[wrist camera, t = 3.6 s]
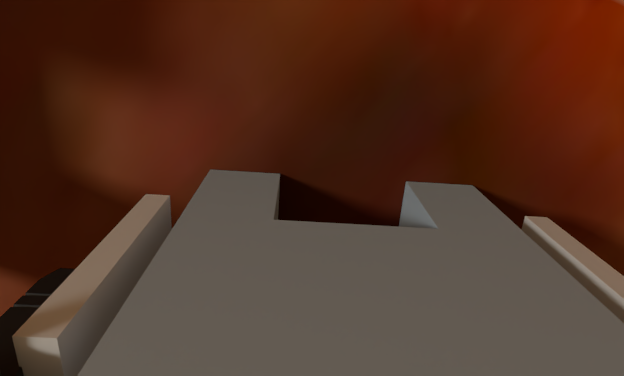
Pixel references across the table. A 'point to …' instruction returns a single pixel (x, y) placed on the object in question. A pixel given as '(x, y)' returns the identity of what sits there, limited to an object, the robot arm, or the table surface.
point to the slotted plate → (354, 295)
